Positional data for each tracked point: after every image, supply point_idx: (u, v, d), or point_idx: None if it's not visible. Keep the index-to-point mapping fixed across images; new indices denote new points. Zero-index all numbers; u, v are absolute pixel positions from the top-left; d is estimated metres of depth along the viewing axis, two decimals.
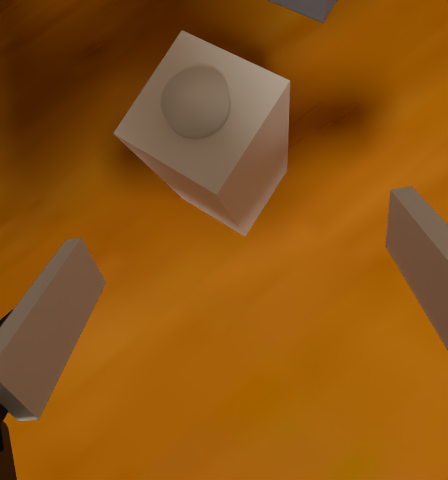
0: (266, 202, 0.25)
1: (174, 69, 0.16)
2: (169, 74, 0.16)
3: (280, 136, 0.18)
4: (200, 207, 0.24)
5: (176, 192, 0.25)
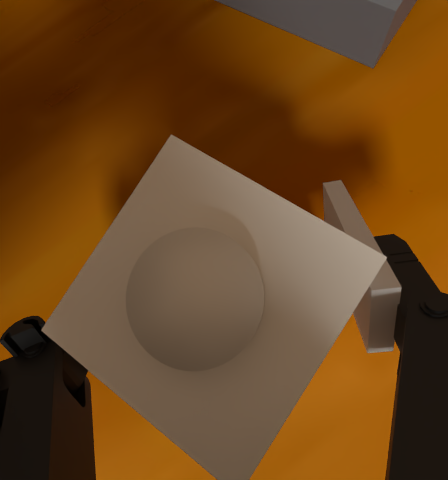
0: None
1: (156, 211, 0.08)
2: (147, 221, 0.08)
3: None
4: None
5: None
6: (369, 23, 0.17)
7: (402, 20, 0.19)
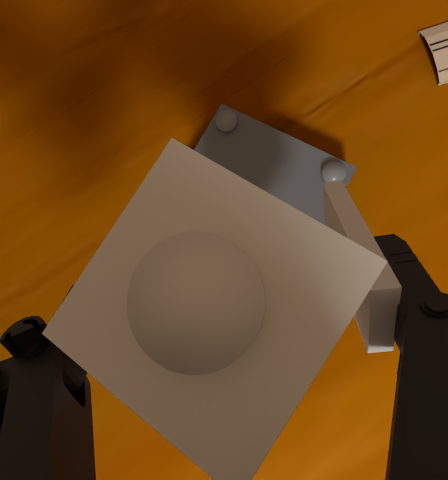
0: None
1: (156, 215, 0.08)
2: (147, 224, 0.08)
3: None
4: None
5: None
6: None
7: None
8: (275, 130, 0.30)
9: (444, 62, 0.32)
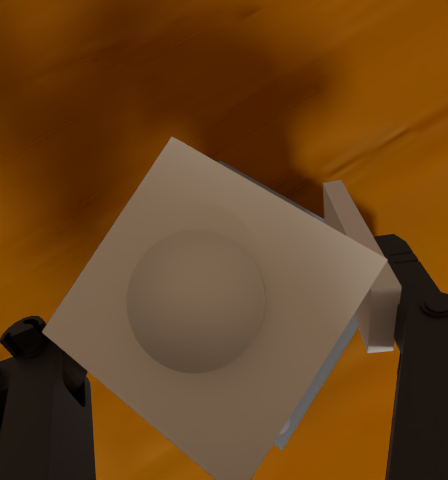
0: None
1: (157, 213, 0.08)
2: (147, 223, 0.08)
3: None
4: None
5: None
6: None
7: None
8: (289, 201, 0.23)
9: None
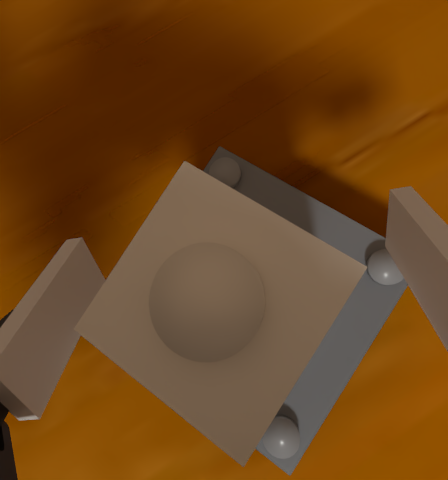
0: None
1: (172, 227, 0.10)
2: (164, 235, 0.10)
3: None
4: None
5: None
6: None
7: None
8: (297, 191, 0.20)
9: None
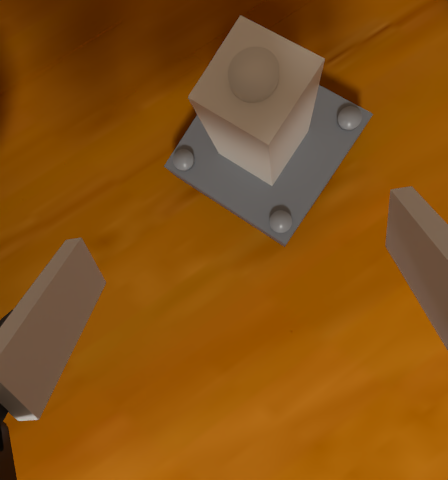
0: (290, 157, 0.30)
1: (235, 47, 0.20)
2: (231, 51, 0.20)
3: (310, 101, 0.23)
4: (236, 160, 0.30)
5: (216, 148, 0.30)
6: (276, 239, 0.31)
7: (300, 222, 0.33)
8: None
9: None
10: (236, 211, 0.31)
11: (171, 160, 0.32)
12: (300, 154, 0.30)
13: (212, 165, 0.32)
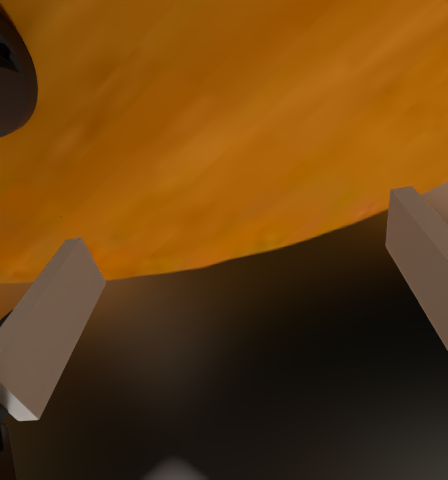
0: None
1: None
2: None
3: None
4: None
5: None
6: None
7: None
8: None
9: None
10: None
11: None
12: None
13: None
